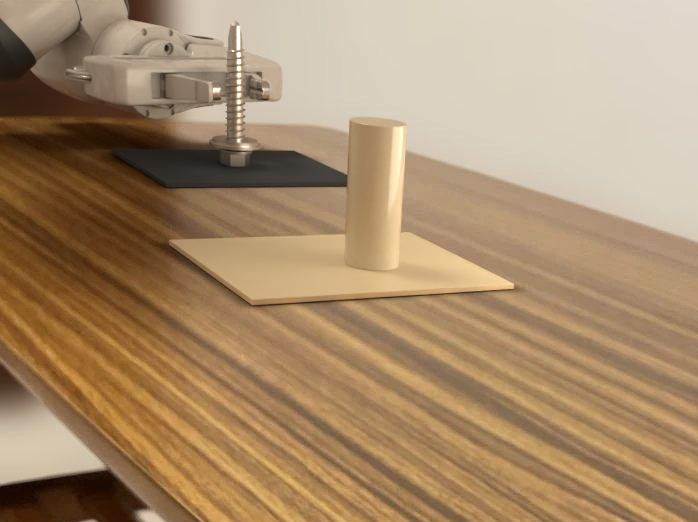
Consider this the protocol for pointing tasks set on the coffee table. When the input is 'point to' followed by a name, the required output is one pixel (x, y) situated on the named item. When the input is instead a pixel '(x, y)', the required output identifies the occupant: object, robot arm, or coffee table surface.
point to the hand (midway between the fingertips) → (242, 92)
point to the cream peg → (374, 193)
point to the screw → (235, 107)
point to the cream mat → (330, 269)
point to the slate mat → (230, 169)
